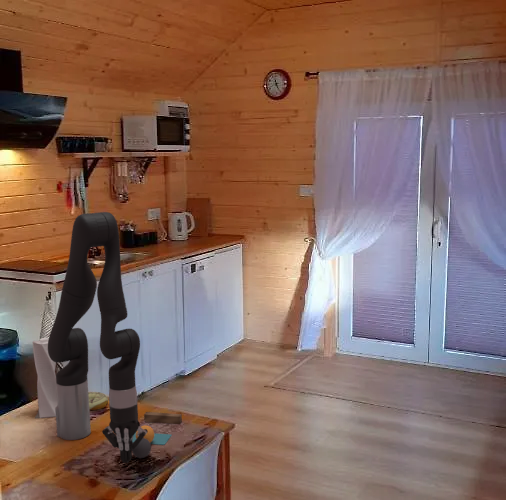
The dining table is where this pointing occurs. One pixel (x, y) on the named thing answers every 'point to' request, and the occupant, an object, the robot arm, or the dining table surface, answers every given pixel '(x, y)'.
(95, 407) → the decorated donut
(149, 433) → the orange ball
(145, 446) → the gray ball
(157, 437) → the teal mark
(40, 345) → the skyscraper
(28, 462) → the dining table surface
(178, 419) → the walnut strip
